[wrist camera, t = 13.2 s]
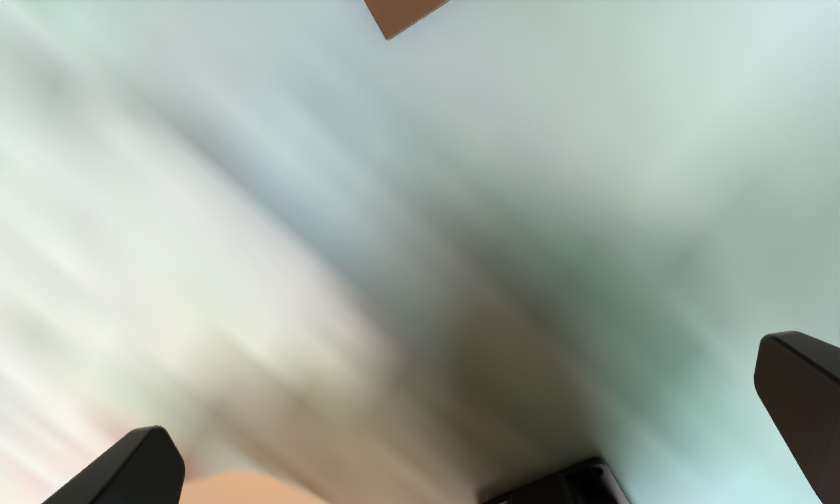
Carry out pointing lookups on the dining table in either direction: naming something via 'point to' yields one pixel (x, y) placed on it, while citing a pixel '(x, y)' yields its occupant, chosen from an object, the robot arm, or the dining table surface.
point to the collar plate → (400, 13)
